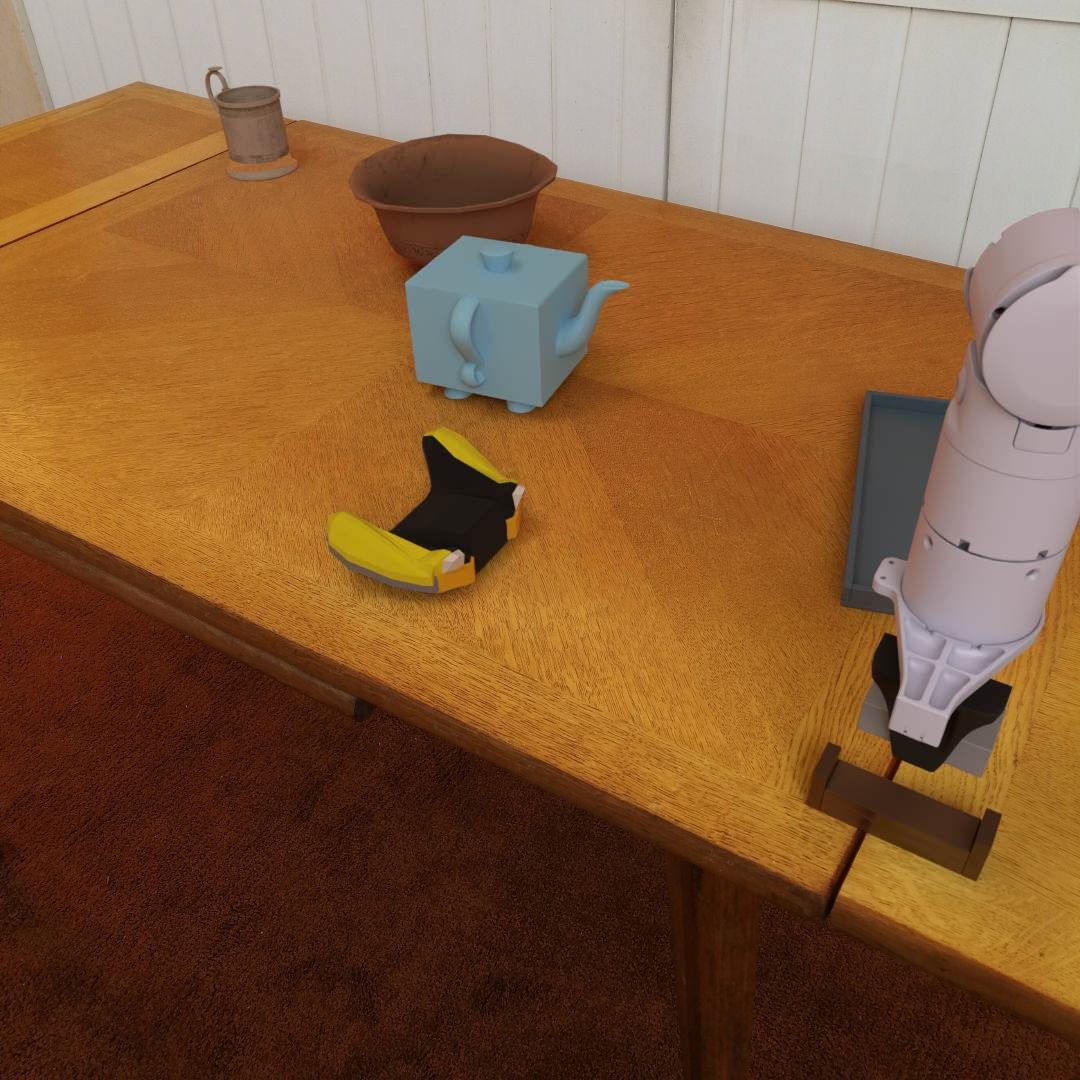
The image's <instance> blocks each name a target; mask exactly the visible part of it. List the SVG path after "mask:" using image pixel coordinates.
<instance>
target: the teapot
mask: <svg viewBox="0 0 1080 1080" xmlns="http://www.w3.org/2000/svg"><path fill="white" fill-rule="evenodd" d="M588 265H589V256H588V255H587V254H586V253H580V252H575V251H567V250H563V249H562V250H561V249H555V248H548V247H542V246H536V245H533V244H529V243H523V244H517V243H511V242H504V241H497V240H491V239H484V238H477V237H470V236H462V237H461V238H460V239H458V240H457V241H456V242H455V243H453V244H452V245H451V246H450V247H448V248H447V249H446V250H445V251H443V252H442V253H441V254H440V255H438V256H437V257H436V258H435V259H433V260H432V261H431V262H430V263H429V264H427V265H426V266H425V267H424V268H423V269H421V268H420V270H419V271H418V272H416V273H415V274H414V275H412V276H411V277H410V278H409V279H408V280H406V281H405V283H404V289H405V297H406V304H407V305H406V306H407V313H408V320H409V328H410V329H409V330H410V335H411V336H410V338H411V345H412V351H413V361H414V369H415V376H416V377H415V378H416V382H420V383H425V384H429V385H435V386H439V387H442V388H445V389H444V391H443V394H444V396H445V397H447V398H448V399H452V400H462V399H466V398H468V397H470V396H471V395H472V394H476V395H481V396H486V397H491V398H495V399H500V400H504V401H506V408H507V409H508V410H509V411H510V412H513V413H517V414H524V413H525V414H526V413H530V412H531V411H533V410H535V408H536V407H537V408H543V407H544V405H546V403H547V402H548V400H550V398H551V397H552V396H553V395H554V394H555V392H556V391H557V390H558V389H559V387H560V386H561V385H562V384H563V382H565V380H566V379H567V378H568V376H570V374H571V373H572V371H573V370H574V369H575V368H576V367H577V365H578V364H579V363H580V362H581V361H582V359H583V358H584V357H585V356H586V354H588V352H589V341H590V339H591V338H592V336H593V334H594V332H595V330H596V327H597V324H598V320H599V317H600V314H601V311H602V308H603V306H604V304H605V302H606V301H607V299H608V298H609V297H611V296H612V295H613V294H615V293H618V292H620V291H624V290H626V289H628V288H630V287H631V284H630V283H628V282H626V281H621V280H613V279H612V280H611V279H609V280H608V279H607V280H601V281H598V282H596V283H595V284H594V285H592V286H591V287H590V289H589V266H588Z"/></svg>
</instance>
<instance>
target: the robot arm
mask: <svg viewBox="0 0 1080 1080" xmlns="http://www.w3.org/2000/svg"><path fill="white" fill-rule="evenodd" d="M1000 236H1001V238H1000V239H999V240H998V241H996V242H995V243H994V242H993V241H991V242H990V243H989V244H988V245H987V247H986V248H985V250H984V251H983V252H982V254H980V256H979V258H978V260H977V262H976V264H975V265H974V266H971V267H969V268H967V269H966V270H965V272H964V277H963V297H964V304H965V308H966V313H967V315H968V317H969V319H970V321H971V322H972V328H973V334H974V339H972V340H971V341H969V342H968V344H967V348H966V352H965V356H964V360H963V363H962V367H961V369H960V371H959V373H958V375H957V378H956V381H955V387H954V396H953V397H952V399H950V400H951V402H950V404H949V406H948V408H947V411H946V414H945V418H944V422H943V426H942V430H941V434H940V437H939V441H938V445H937V449H936V453H935V456H934V460H933V464H932V468H931V472H930V476H929V479H928V483H927V487H926V491H925V495H924V498H923V503H922V507H921V511H920V515H919V519H918V522H917V526H916V530H915V533H914V537H913V541H912V545H911V549H910V552H909V556H908V560H907V561H905V560H901V559H898V558H893V557H890V558H885V559H884V560H883V561H882V562H881V564H880V566H879V568H878V569H877V571H876V573H875V575H874V579H873V583H872V588H873V589H874V591H875V592H877V593H879V594H881V595H884V596H887V597H889V598H890V599H891V600H892V601H893V603H894V608H895V615H894V617H895V618H894V620H895V629H896V630H895V632H896V635H895V634H892V633H889V632H884V634H883V635H882V637H881V639H880V641H879V643H878V645H877V647H876V649H875V650H874V654H873V656H872V660H871V669H870V670H871V678H872V681H873V680H874V681H875V683H876V684H877V686H878V687H879V689H880V690H881V692H882V694H883V696H884V699H885V702H886V704H887V709H888V714H889V725H888V728H889V729H890V741H889V743H890V750H891V755H892V757H893V758H895V759H896V760H897V759H898V760H899V761H902V762H904V763H907V764H909V765H912V766H914V767H916V768H919V769H921V770H924V771H926V772H929V773H935V772H936V771H937V770H939V768H941V766H942V765H943V764H944V762H945V761H946V759H947V758H948V757H949V756H950V754H951V753H952V752H953V750H954V749H955V748H956V746H957V745H958V744H959V743H960V741H961V740H962V739H963V738H964V737H965V736H967V735H968V734H969V733H971V732H972V731H974V730H976V729H978V728H980V727H982V726H985V725H989V724H992V723H993V722H994V721H995V720H996V719H997V718H998V717H999V716H1000V715H1001V714H1002V713H1003V711H1004V710H1005V709H1006V707H1007V704H1008V702H1009V699H1010V696H1011V694H1012V691H1013V688H1014V686H1013V685H1010V684H1007V683H1005V682H1001V681H999V680H996V679H993V677H995V676H996V675H997V674H998V673H999V672H1001V671H1002V670H1004V668H1006V667H1007V666H1008V665H1010V664H1011V663H1012V662H1013V661H1015V659H1017V658H1018V657H1019V656H1021V655H1022V654H1023V653H1024V652H1026V650H1028V649H1029V648H1030V647H1031V646H1032V645H1033V644H1035V642H1036V641H1037V640H1038V638H1039V636H1040V634H1041V631H1042V629H1043V626H1044V625H1045V620H1046V608H1045V607H1046V604H1047V602H1048V599H1049V596H1050V594H1051V591H1052V589H1053V587H1054V583H1055V581H1056V579H1057V576H1058V573H1059V571H1060V568H1061V566H1062V563H1063V562H1064V558H1065V556H1066V554H1067V551H1068V548H1069V546H1070V543H1071V540H1072V538H1073V534H1074V533H1075V530H1076V527H1077V525H1078V522H1079V519H1080V208H1079V207H1060V208H1053V209H1048V210H1044V211H1040V212H1037V213H1034V214H1032V215H1029V216H1027V217H1024V218H1022V219H1021V220H1019V221H1017V222H1015V223H1013V224H1011V225H1010V226H1009V227H1007V228H1006V229H1005V230H1003V231H1002V232H1000Z"/></svg>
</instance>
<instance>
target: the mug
mask: <svg viewBox="0 0 1080 1080" xmlns="http://www.w3.org/2000/svg"><path fill="white" fill-rule="evenodd" d="M207 70H208V71H207V73H205V77H204V84H205V90H206V94H207V97H208V99H209V101H210V104H211V105H212V107H213V109H214V110H215V111H216V113H217V114H219V116H220V121H221V125H222V130H223V135H224V138H225V143H226V147H227V152H228V156H229V157H230V159H231V160H232V161H235V162H238V163H242V164H260V163H267V162H273V161H276V160H278V159H281V158H282V157H284V156H286V155H287V154H288V153H289V150H290V147H289V141H288V136H287V131H286V125H285V120H284V114H283V110H282V109H283V108H282V104H281V99H280V98H281V91H280V89H279V88H278V87H274V86H271V85H263V84H259V85H257V84H255V85H245V86H237V87H232V88H231V87H229V85H228V81H227V79H226V78H225V76H224V75H223V74H222V72H220V70H223V66H212V67H211V66H210V67H208V68H207ZM212 75H215V76H216V77H217V78H218V79H219V81H220V83H221V86H222V88H221V91H220V92H218V93H217V94H216V95H215V96H214V93H213V89H212V86H211V76H212ZM297 163H298V165H297ZM297 163H295V164H296V165H294V164H293V165H294V166H295V167H293V166H292V167H286V168H287V169H286V168H285V167H284V169H283V168H281V167H279V168H280V169H279V168H278V169H271V170H267V171H262V172H261V171H258V172H244V171H238V170H237V172H236V171H235V172H232V171H233V169H231V171H230V169H229V172H230V173H231V174H230V173H229V172H226V171H225V174H226V175H227V176H228V177H229V178H231V179H234V180H237V181H246V182H247V181H248V182H249V181H250V182H251V181H252V182H253V181H254V182H256V181H267V180H273V179H277V178H280V177H284V176H286V175H290V174H291V173H293V172H295V171H296V170H297V169H298V168H299V166H300V165H299V160H297ZM296 166H297V167H296ZM234 170H235V169H234ZM227 173H229V174H227Z"/></svg>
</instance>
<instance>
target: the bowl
mask: <svg viewBox="0 0 1080 1080" xmlns="http://www.w3.org/2000/svg"><path fill="white" fill-rule="evenodd" d="M558 168H559V167H558V165H557V164H556V163H554V162H553V160H551V159H550V158H548V157H547V156H546V155H543V154H542V153H539V152H537V151H535V150H533V149H531V148H529V147H526V146H524V145H523V144H520V143H517V142H513V141H509V140H506V139H503V138H498V137H495V136H490V135H488V134H487V135H486V134H467V133H464V134H463V133H444V134H439V135H432V136H425V137H421V138H415V139H411V140H407V141H404V142H401V143H397V144H396V145H392V146H390V147H386V148H383V149H380V150H378V151H376V152H374V153H373V154H371V155H369V156H367V157H366V158H364V159H361V161H358V162H357V163H356V164H355V166H354V168H353V170H352V172H351V173H350V176H349V177H348V178H347V179H348V181H347V182H348V185H349V187H350V189H351V191H352V193H353V196H354V198H355V200H357V201H360V202H362V203H364V204H366V205H369V206H370V207H372V209H373V211H374V213H375V215H376V217H377V219H378V220H377V221H378V222H379V225H380V227H381V230H382V231H383V233H384V235H385V237H386V239H387V242H388V243H389V246H390V247H391V248H392V249H393V251H394V252H395V253H396V254H397V255H399V256H400V257H402V258H404V259H406V260H408V261H410V262H412V263H413V264H415V265H418V266H420V270H421V269H423V268H424V267H425V266H426V265H427V264H429V263H430V262H431V261H432V260H433V259H435V258H436V257H437V256H438V255H440V254H441V253H442V252H443V251H445V250H446V249H447V248H448V247H450V246H451V245H452V244H453V243H455V242H456V241H457V240H458V239H460V238H461V237H462V236H470V237H477V238H484V239H491V240H497V241H504V242H511V243H517V244H525V242H526V241H527V239H528V237H529V234H530V232H531V227H532V223H533V219H534V216H535V212H536V206H537V201H538V196H539V194H540V192H541V191H543V190H544V189H546V188H547V187H548V186H549V185H551V184H552V183H554V182H555V181H556V177H557V174H558Z"/></svg>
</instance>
